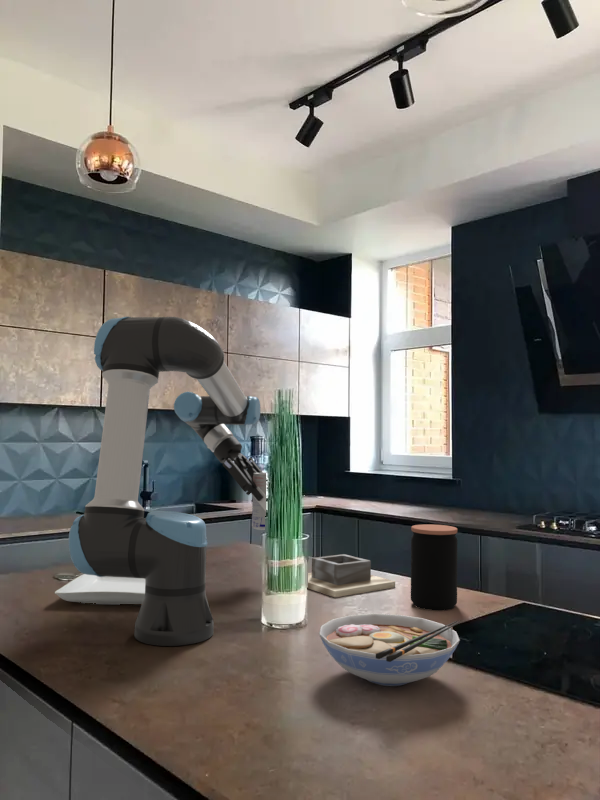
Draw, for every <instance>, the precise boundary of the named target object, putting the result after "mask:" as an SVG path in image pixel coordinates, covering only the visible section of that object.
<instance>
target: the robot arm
mask: <svg viewBox="0 0 600 800" xmlns="http://www.w3.org/2000/svg"><path fill="white" fill-rule="evenodd" d="M93 354H94V355H95V356H94V362H95V363H96V366H97V368H98V369H99V370H100V371H102V373H101V375H102V378H103V379H104V380H105V381H106V383H107V384H108V385H107V386H108V387H107V394H106V401H105V409H104V411H105V412H104V416H103V417H104V418H103V427H102V434H101V440H100V442H101V443H100V450H99V456H98V457H99V458H98V459H99V460H98V464H97V473H96V474H97V475H96V483H95V488H94V489H95V491H94V497H93V498H92V500H90V501H89V502H88V503H86V505H85V507H84V513H83V514H82V515H80V516H77V517H76V518H75V519H74V520H73V522H72V525H71V526H70V529H69V533H68V550H69V552H68V553H69V556H70V559H71V562H72V564H73V566H74V567H75V568H76V570H77V571H79V572H80V573H81V574H82V575H83V574H87V575H96V576H98V577H105V576H108V577H127V578H144V579H145V596H144V599H143V602H142V605H140V609H139V611H138V615H137V617H136V620H135V623H134V638H135V640H137V641H138V642H141V643H143V644H146V645H153V646H159V647H161V646H162V647H175V646H176V647H177V646H187V645H192V644H193V645H194V644H196V643H201V642H204V641H206V640H209V639H210V638H211V637H212V636H214V625H215V624H214V622H215V621H214V618H213V615H212V612H211V608H210V606H209V602H208V597H207V595H206V580H207V579H206V578H207V577H206V575H207V546H208V539H207V525H206V523H205V521H204V520H203V519H202V518H201V517H198V516H197V515H193V514H189V513H185V512H180V511H172V510H168V511H167V510H153V511H150V512H148V513H147V515H146V517H145V509H144V507H143V506H142V505H141V503H140V502H139V492H140V483H141V475H142V474H141V473H142V466H143V464H142V463H143V456H144V448H145V436H146V430H147V420H148V419H147V418H148V410H149V400H150V392H151V389H152V388H153V387H154V386H155V385H157V384H158V383H159V378H160V377H159V376H160V372H180V373H181V372H182V373H186V374H187V375H188V376H189V377H190V378H192V379H194V380H197V382H198V383H199V384H200V385H201V386H202V389H204V391H205V392H206V393H207V395H205V396H203V395H199V394H197V393H194V392H192V391H185V392H182V393H180V394H179V395H178V396H177V397H176V398H175V401H174V403H173V410H174V413H175V414H176V416H177V417H178V418H179V419H180V421H181V422H182V421H183V422H184V423H186V425H188V426H189V427H190V428H191V429H193V430H194V432H195V433H196V434H197V435H198V437H200V439H201V440H202V442H204V444H205V445H206V448H207V449H209V450H210V451H211V452H212V453H213V455H214V456H215V458H217V460H218V461H219V462H220V463H221V464H222V467H223V468H224V469H225V470H226V471H227V472H228V473H229V474H230V475H231V477H232V478H233V479H234V481H235V482H236V483H237V484H238V485H239V487H240V488H241V489H242V490H243V492H245V493H246V495H247V496H250V495H252V497H253V496H254V498H255V499H256V500H257V501H258V503H259V504H260V505H261V506H262V508H263V509H264V510H265V511H266V494H265V493H264V492H263V491H262V490H261V489H260V488H259V487H257V486H256V484H255V483H254V481H253V475H254V474H253V473H260V472H261V473H264V471H262V470H261V469H260V467H259V466H258V465H257V464H256V462H255V461H254V459H253V458H252V457H249V458H248V457H247V456H246V455H244V454H243V453H242V448H243V445H242V444H241V442H240V441H239V440H238V438H236V436H234V434H233V432H232V431H231V430H230V429H229V428H228V427H227V425H229V426H230V425H233V426H236V425H237V426H247V425H257V424H258V423H259V421H260V418H261V403H260V400H259V398H258V397H257V396H251V395H247V396H246V395H245V393H244V392H243V390H242V388H241V387H240V384H239V383H238V381H237V380H236V378H235V377H234V375H233V373H232V371H230V369H229V367H228V365H227V364H226V362H225V353H224V350H223V348H222V347H221V345H220V343H219V342H218V341H217V339H216V338H215V337H214V336H213V335H212V334H211V333H209V332H208V331H207V330H205V329H204V328H203V327H201V326H199V325H198V324H196V323H194V322H192V321H191V320H188V319H184V318H182V317H178V316H155V317H154V316H147V317H145V316H141V317H140V316H137V317H131V316H124V317H116V318H110V319H108V320H106V321H105V322H104V323H103V324H102V325H101V326H100V328H99V329H98V331H97V333H96V336H95V339H94V345H93ZM256 487H257V488H256ZM144 517H145V518H144Z"/></svg>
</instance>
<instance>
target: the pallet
mask: <svg viewBox="0 0 600 800" xmlns="http://www.w3.org/2000/svg"><path fill="white" fill-rule="evenodd" d="M371 572H372V561H371V560H370V559H365V558H361V557H357V556H354V555H353V556H352V555H349V554H345V553H342V554H335V555H333V554H332V555H325V556H319V557H312V558H311V572H307V573H308V588H307V589H309V590H311V591H313V592H314V591H315V592H318V593H322V594H323V595H326V596H330V597H333V598H339V597H346V596H351V595H352V596H353V595H356V594H357V595H358V594H364V593H369V592H377V591H382V590H387V589H393V588H396V581H394V580H391V579H388V578H385V577H382V576H376V575H373V574H372V573H371Z"/></svg>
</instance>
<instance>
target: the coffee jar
mask: <svg viewBox="0 0 600 800" xmlns="http://www.w3.org/2000/svg"><path fill="white" fill-rule="evenodd" d="M411 532H412V536H411V537H410V601H411V602H412V605H413V606H415V607H416V608H419V609H423V610H428V611H439V612H440V611H449V610H452V609H454V608H455V606H456V605H457V603H458V537H456V535H457V534H458V528H457V527H455V526H450V525H446V524H445V525H444V524H430V523H429V524H427V523H426V524H415V525H412V526H411Z"/></svg>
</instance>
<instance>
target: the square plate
mask: <svg viewBox="0 0 600 800" xmlns="http://www.w3.org/2000/svg"><path fill="white" fill-rule="evenodd" d="M53 594H55V595H56V596H58V597H59V598H61V600H64V601H67V602H73V603H80V602H81V603H80V604H85V603H93V604H92V605H120V604H142V602H143V599H144V596H145V579H144V578H127V577H108V576H105V577H98V576H96V575H87V574H83V573H82V574H81V575H79V576H78V577H76V578H74V579H73V580H70V581H69V582H67V583H66V584H65V585H63V586H62V587H60V588H58V589H57V590H55V591H54V593H53ZM94 603H96V604H94Z"/></svg>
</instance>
